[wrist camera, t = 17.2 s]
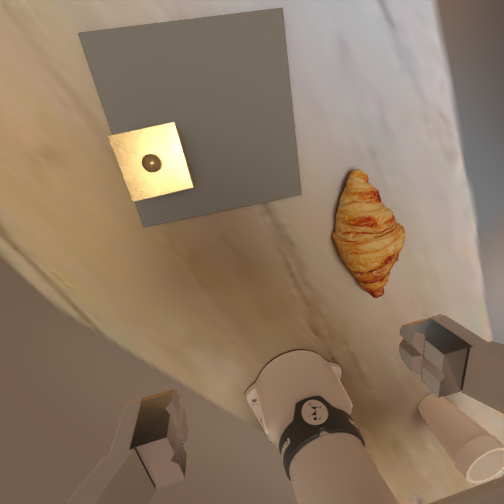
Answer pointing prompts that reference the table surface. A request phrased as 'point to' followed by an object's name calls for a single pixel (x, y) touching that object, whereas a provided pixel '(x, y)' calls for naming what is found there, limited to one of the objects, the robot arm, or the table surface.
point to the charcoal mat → (205, 105)
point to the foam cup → (463, 439)
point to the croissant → (367, 234)
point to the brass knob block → (153, 161)
